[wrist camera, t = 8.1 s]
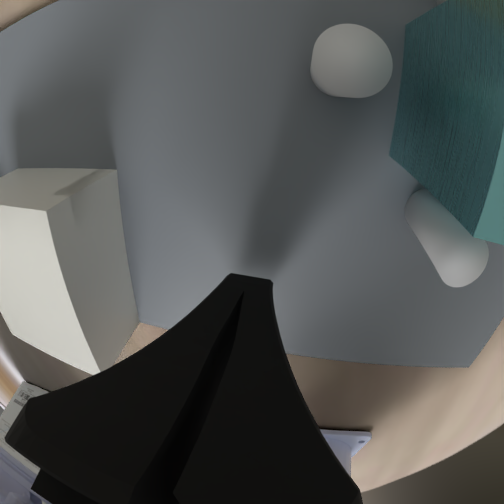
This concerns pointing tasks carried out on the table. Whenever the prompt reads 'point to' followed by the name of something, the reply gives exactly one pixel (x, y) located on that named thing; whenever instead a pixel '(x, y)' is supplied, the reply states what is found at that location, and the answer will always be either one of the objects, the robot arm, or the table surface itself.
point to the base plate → (256, 165)
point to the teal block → (456, 111)
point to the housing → (66, 264)
